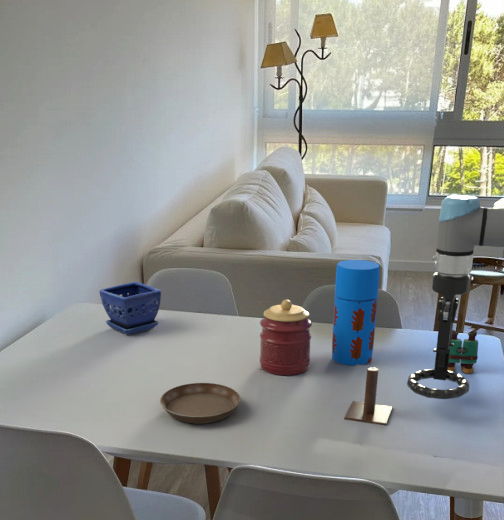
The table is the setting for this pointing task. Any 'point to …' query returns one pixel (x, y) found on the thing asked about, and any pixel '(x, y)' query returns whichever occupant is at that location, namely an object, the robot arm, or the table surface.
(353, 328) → the thermos
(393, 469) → the table surface
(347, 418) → the stand
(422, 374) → the ring
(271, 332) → the kitchen canister
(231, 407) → the plant saucer
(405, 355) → the table surface
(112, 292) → the flower pot
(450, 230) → the robot arm
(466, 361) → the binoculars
